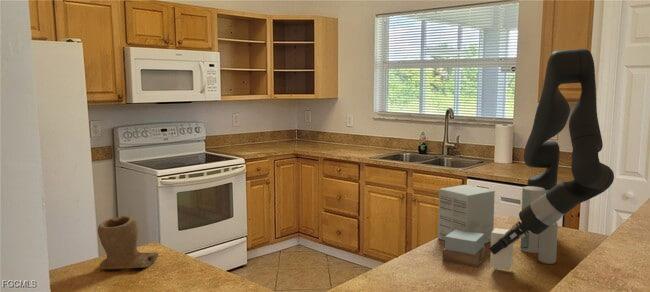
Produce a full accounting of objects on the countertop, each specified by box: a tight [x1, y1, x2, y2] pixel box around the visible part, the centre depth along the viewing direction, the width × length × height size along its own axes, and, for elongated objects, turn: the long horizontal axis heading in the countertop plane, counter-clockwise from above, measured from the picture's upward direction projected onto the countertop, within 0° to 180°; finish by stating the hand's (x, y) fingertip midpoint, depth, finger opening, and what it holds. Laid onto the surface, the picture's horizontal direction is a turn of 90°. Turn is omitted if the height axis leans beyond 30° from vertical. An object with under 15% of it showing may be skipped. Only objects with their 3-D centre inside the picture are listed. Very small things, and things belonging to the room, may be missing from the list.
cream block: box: [489, 227, 514, 271], centre depth 142 cm, size 5×5×10 cm
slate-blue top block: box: [444, 229, 485, 255], centre depth 152 cm, size 9×9×4 cm
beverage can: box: [537, 221, 559, 265], centre depth 150 cm, size 5×5×12 cm
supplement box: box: [437, 184, 496, 244], centre depth 171 cm, size 13×13×18 cm
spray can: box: [519, 185, 545, 254], centre depth 160 cm, size 6×6×20 cm
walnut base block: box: [442, 245, 487, 268], centre depth 153 cm, size 10×10×4 cm
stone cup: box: [97, 215, 159, 270], centre depth 147 cm, size 15×12×15 cm
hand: (495, 248), depth 143 cm, fingers closed on cream block, 5 cm apart
